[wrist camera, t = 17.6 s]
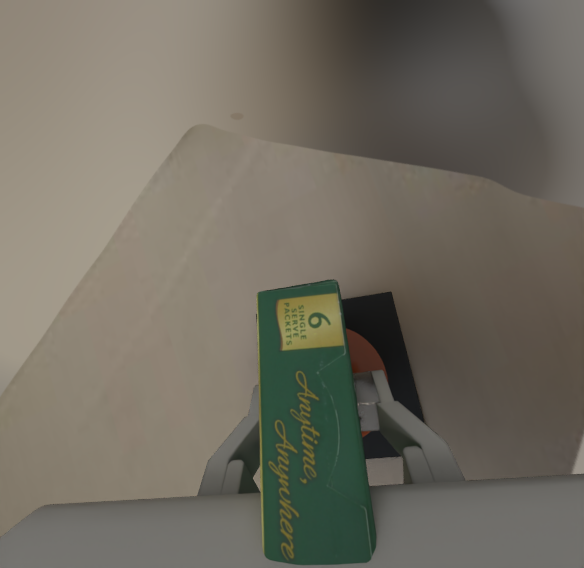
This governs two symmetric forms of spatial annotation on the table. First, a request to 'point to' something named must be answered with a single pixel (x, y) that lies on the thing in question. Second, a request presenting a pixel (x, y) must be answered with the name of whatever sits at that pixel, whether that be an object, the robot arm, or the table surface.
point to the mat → (383, 358)
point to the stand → (363, 357)
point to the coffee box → (310, 431)
